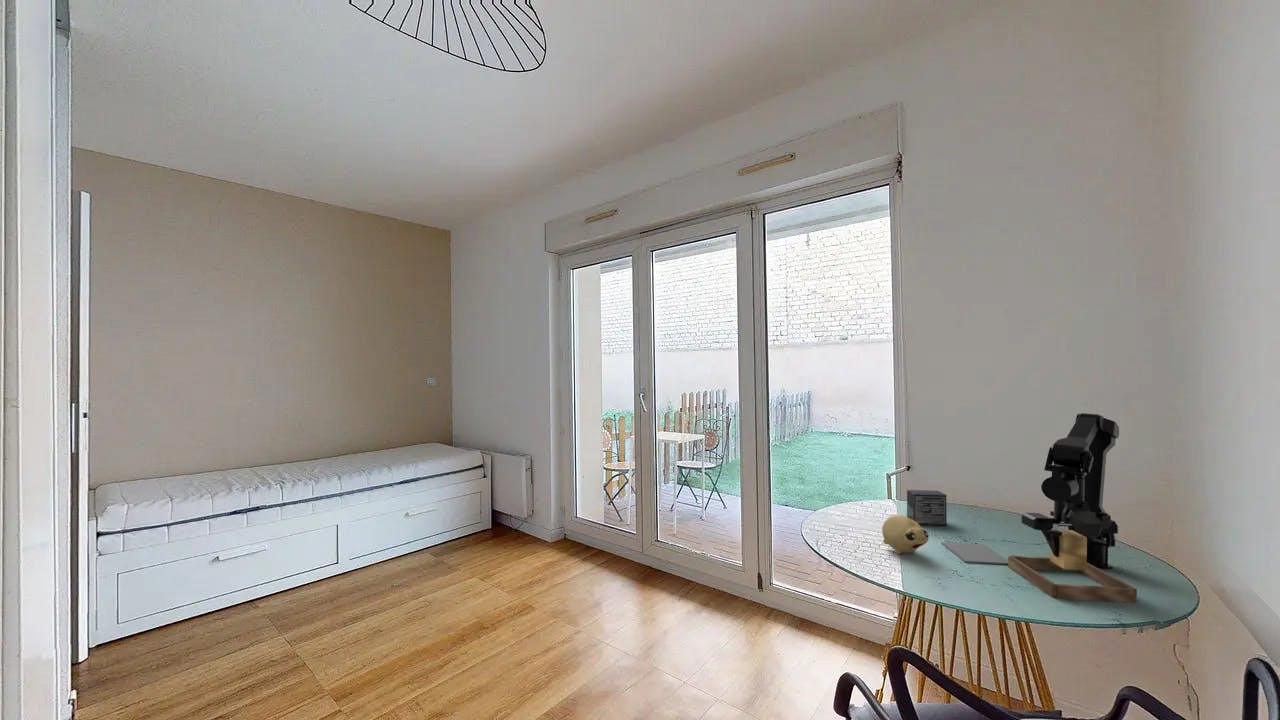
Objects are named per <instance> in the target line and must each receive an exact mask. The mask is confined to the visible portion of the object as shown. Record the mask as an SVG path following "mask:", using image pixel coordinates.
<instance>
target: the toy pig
mask: <svg viewBox="0 0 1280 720" xmlns="http://www.w3.org/2000/svg"><path fill="white" fill-rule="evenodd" d="M881 531H882V532H881V533H882V537H883V541H882V543H883V544H884V545H888V546H890V547H891V549H893V550H894V551H895V554H896V555H901V554H902V553H905V554H909V553H912V554H914V553H916V550H918V549H919V548H920V547H922V546H924V545H926V544H927V543H928V542H929V537H930V536H929V533H928V531H927V530H925V529H924V528H922V529H920V528H919V527H918V526H917V525H916V524H915V523H914V522H912V521H911V520H910V519H909V518H907V515H904V514H903V513H896V514H892V515H890V516H888V517H887V518H886V519H885V521H884V522H883V524H882V527H881Z"/></svg>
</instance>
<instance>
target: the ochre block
mask: <svg viewBox="0 0 1280 720" xmlns="http://www.w3.org/2000/svg"><path fill="white" fill-rule="evenodd" d="M1058 531H1060V532H1062V533H1063V534H1062V535H1061V536H1060V537H1059V557H1056V556H1054V554H1053V552H1052V550H1051V548H1050V547H1049V548H1050V549H1049V554H1050V555H1049V557H1050V561H1051V562H1053V563H1055V564H1056V565H1058V566H1060V567H1062V568H1063V569H1074V570H1086V564H1087V537H1085V536H1083V535H1081V534H1079V533H1077V532H1074V531H1072V530H1069V529H1058Z"/></svg>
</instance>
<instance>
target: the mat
mask: <svg viewBox="0 0 1280 720" xmlns="http://www.w3.org/2000/svg"><path fill="white" fill-rule="evenodd" d="M940 543H941V545H942V546H944V547H945V548H946V549H948V551H950V552H951V553H953V554H954V555H955V556H956V557H958V558H959V559H960V560H961V561H962V562H963V563H966V564H980V563H984V565H1000V564H1001V566H1002V565H1003V566H1008V558H1005V557H1004V556H1003V555H1001V554H1000V553H998V552H997V551H995V550H993V549H992V548H990V547H989V546H988V545H986V544H985V543H970V542H968V543H967V542H966V543H965V542H947V541H946V542H943V541H941V542H940Z"/></svg>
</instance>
